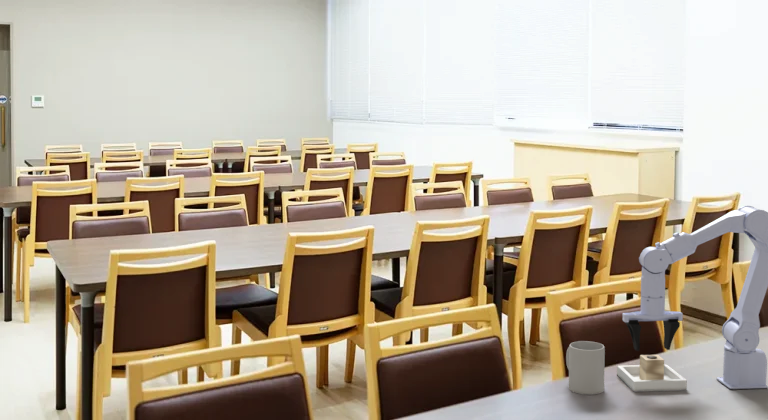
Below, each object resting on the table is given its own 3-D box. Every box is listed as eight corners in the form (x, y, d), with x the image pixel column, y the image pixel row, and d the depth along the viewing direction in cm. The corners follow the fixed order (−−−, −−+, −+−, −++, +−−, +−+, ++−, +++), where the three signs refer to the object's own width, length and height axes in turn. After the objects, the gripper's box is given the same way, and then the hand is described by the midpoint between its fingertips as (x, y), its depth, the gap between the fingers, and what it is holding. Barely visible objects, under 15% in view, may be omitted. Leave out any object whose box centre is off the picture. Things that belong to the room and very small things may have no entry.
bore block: (656, 377, 212) (657, 354, 211) (663, 383, 207) (664, 359, 207) (639, 378, 212) (639, 354, 211) (645, 383, 207) (646, 359, 206)
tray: (666, 373, 216) (666, 364, 216) (686, 390, 204) (686, 380, 203) (616, 375, 216) (617, 365, 216) (633, 391, 203) (634, 381, 203)
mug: (611, 391, 203) (612, 347, 202) (582, 397, 200) (583, 352, 199) (580, 377, 214) (581, 336, 213) (553, 382, 211) (553, 340, 210)
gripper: (675, 291, 211) (674, 343, 213) (618, 293, 211) (617, 345, 212) (686, 297, 204) (685, 351, 206) (628, 299, 204) (627, 353, 205)
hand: (651, 349), depth 209 cm, fingers open, 7 cm apart
